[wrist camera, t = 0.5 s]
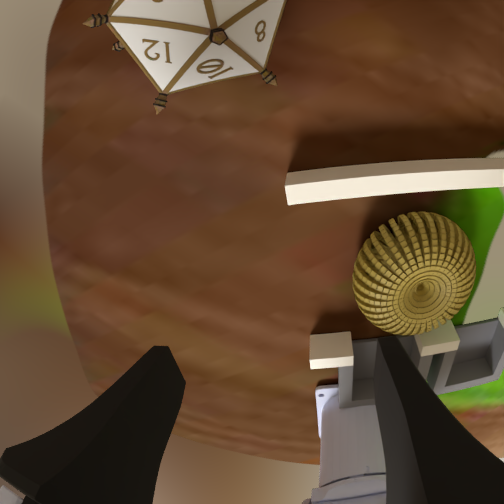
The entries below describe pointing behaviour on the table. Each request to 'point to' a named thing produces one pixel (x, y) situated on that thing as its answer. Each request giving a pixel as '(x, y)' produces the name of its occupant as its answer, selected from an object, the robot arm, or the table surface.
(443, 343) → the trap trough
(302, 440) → the table surface
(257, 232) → the table surface
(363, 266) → the sculpture
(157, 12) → the game die
